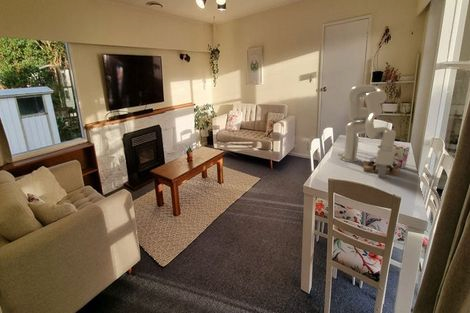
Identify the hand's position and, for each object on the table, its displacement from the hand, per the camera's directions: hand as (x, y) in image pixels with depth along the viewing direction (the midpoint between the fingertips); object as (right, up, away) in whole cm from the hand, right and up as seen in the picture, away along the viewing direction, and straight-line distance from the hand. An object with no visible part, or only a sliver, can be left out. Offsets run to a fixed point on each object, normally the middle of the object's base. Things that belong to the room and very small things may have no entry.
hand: (382, 171), depth 172 cm
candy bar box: (+21, +3, +17) cm, 27 cm away
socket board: (+5, 0, +12) cm, 13 cm away
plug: (0, -4, +1) cm, 4 cm away
